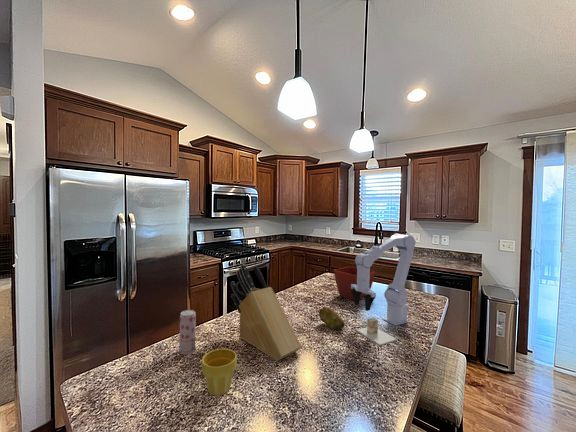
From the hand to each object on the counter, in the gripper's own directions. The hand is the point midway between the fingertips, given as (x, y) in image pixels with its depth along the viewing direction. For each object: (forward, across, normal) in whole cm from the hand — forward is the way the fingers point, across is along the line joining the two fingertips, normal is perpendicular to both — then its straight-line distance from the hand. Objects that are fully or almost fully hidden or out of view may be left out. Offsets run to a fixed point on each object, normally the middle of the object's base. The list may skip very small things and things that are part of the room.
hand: (362, 307), depth 123 cm
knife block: (+10, -8, -48) cm, 49 cm away
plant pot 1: (+10, +13, -70) cm, 72 cm away
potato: (+10, -7, -13) cm, 18 cm away
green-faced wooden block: (+9, +7, 0) cm, 11 cm away
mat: (+9, +9, 0) cm, 13 cm away
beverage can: (+10, -13, -76) cm, 78 cm away
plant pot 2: (+10, -35, +26) cm, 45 cm away
